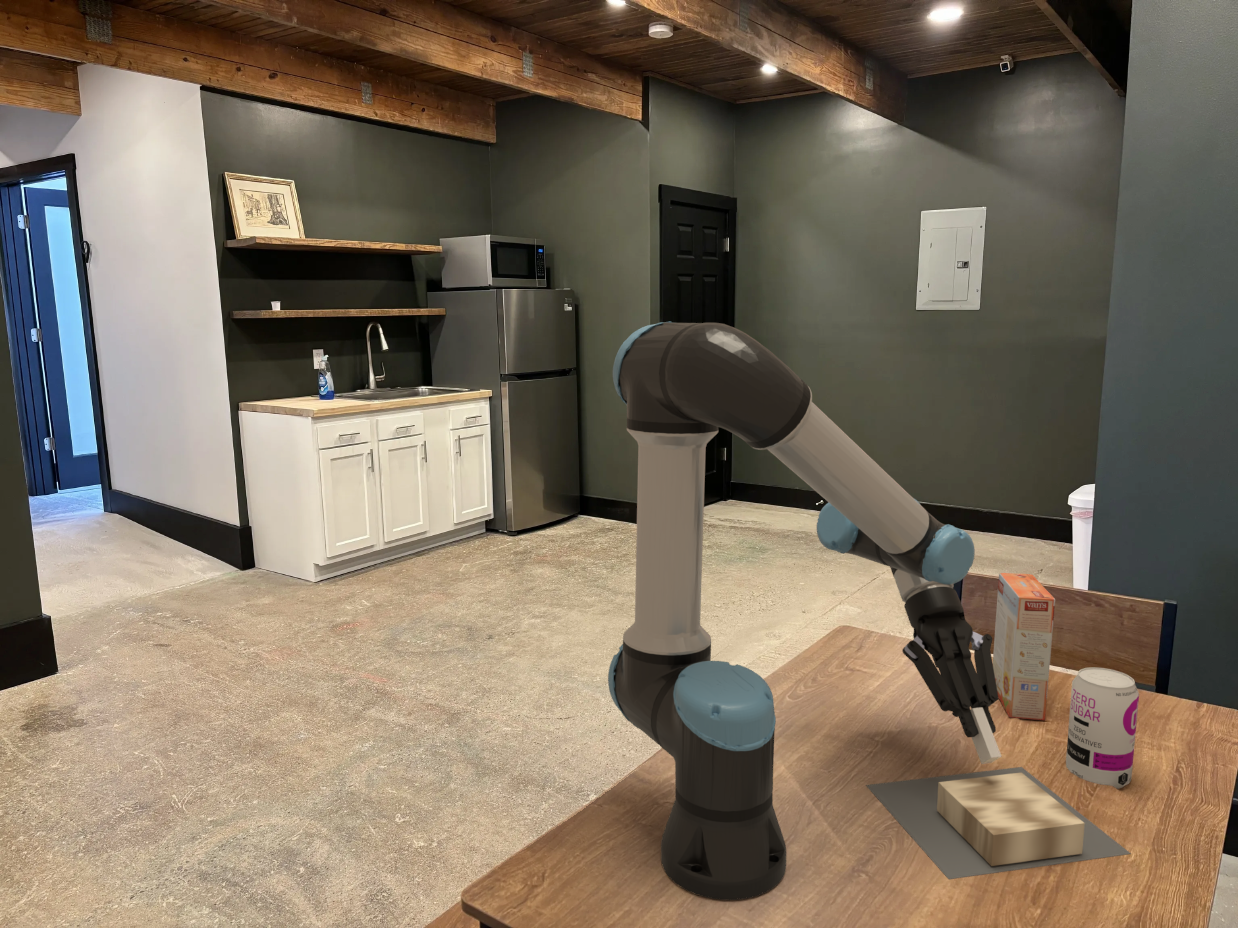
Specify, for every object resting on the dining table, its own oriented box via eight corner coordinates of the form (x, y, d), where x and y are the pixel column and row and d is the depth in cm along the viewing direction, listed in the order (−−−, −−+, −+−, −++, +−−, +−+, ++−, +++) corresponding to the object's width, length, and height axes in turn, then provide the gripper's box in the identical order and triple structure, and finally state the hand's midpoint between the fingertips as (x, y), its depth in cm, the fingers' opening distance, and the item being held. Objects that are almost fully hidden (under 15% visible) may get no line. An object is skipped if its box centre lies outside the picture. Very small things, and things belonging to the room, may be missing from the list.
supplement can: (1137, 775, 125) (1146, 675, 123) (1121, 798, 119) (1130, 694, 117) (1075, 756, 131) (1083, 661, 128) (1057, 777, 125) (1065, 678, 122)
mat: (948, 886, 101) (948, 878, 101) (865, 791, 122) (865, 784, 122) (1130, 860, 106) (1131, 853, 106) (1021, 773, 126) (1021, 766, 126)
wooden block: (936, 811, 115) (991, 867, 103) (938, 782, 114) (993, 834, 102) (1019, 801, 117) (1081, 855, 105) (1021, 772, 116) (1084, 822, 105)
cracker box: (1048, 722, 142) (1057, 598, 138) (1008, 719, 143) (1016, 596, 139) (1026, 686, 155) (1034, 572, 152) (990, 684, 156) (997, 571, 153)
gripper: (958, 604, 131) (1022, 763, 118) (877, 611, 128) (933, 774, 115) (981, 580, 125) (1051, 745, 111) (897, 587, 122) (958, 756, 109)
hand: (991, 759), depth 113 cm, fingers closed
